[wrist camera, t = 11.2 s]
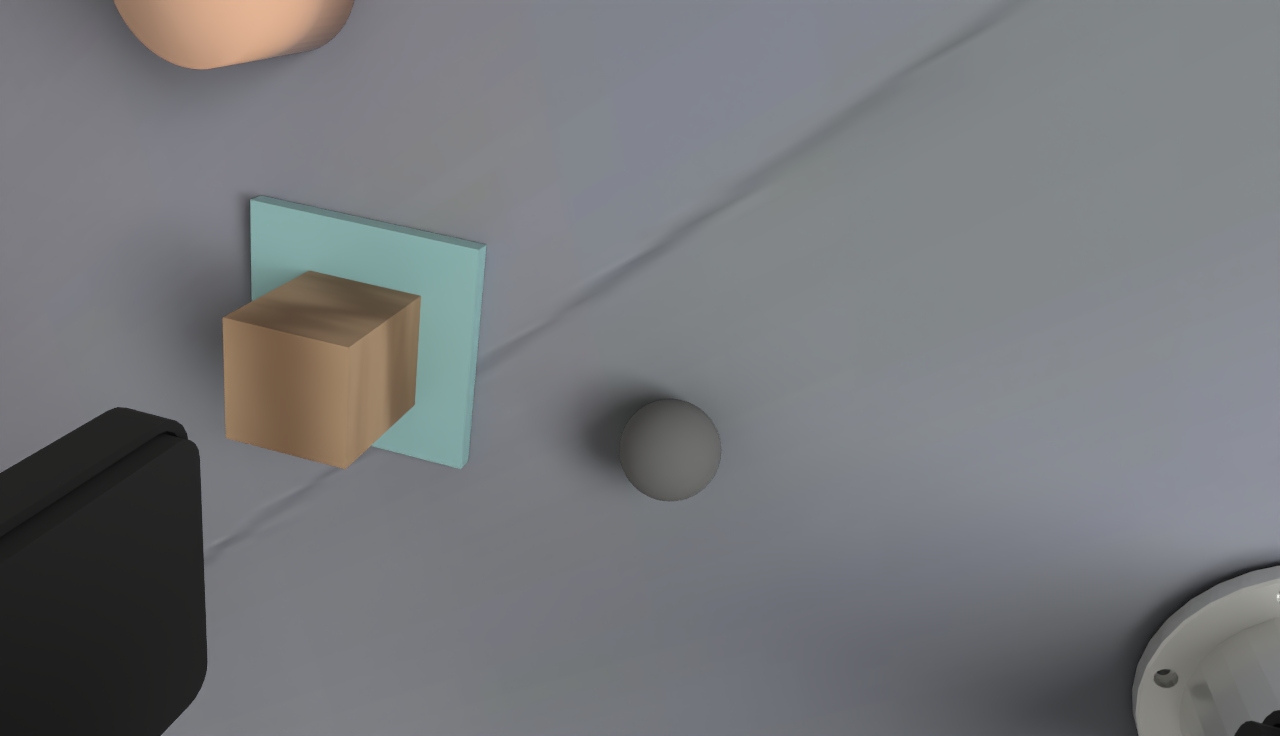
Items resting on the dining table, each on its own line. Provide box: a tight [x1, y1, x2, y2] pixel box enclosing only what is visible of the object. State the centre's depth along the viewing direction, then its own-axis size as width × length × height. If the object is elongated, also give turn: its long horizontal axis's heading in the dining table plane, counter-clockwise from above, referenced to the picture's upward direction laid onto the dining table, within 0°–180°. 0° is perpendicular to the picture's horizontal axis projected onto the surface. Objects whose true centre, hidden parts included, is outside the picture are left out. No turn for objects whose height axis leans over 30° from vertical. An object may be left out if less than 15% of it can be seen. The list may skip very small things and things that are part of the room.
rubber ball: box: [619, 399, 721, 501], centre depth 41 cm, size 4×4×4 cm
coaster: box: [250, 196, 486, 469], centre depth 44 cm, size 10×10×1 cm
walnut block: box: [223, 270, 421, 469], centre depth 41 cm, size 5×5×6 cm
